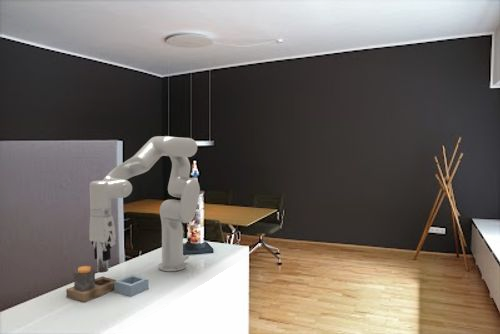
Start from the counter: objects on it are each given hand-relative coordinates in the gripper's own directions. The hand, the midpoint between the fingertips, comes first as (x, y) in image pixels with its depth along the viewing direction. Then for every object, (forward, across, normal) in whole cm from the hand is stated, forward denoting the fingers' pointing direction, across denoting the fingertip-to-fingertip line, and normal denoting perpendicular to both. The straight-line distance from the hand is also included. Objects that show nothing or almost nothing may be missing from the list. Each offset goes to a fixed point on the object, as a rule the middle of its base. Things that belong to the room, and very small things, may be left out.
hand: (102, 258), depth 149 cm
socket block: (+12, 0, +4) cm, 13 cm away
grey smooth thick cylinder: (+5, 0, 0) cm, 5 cm away
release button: (+9, 0, +8) cm, 12 cm away
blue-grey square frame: (+12, -10, -5) cm, 17 cm away
